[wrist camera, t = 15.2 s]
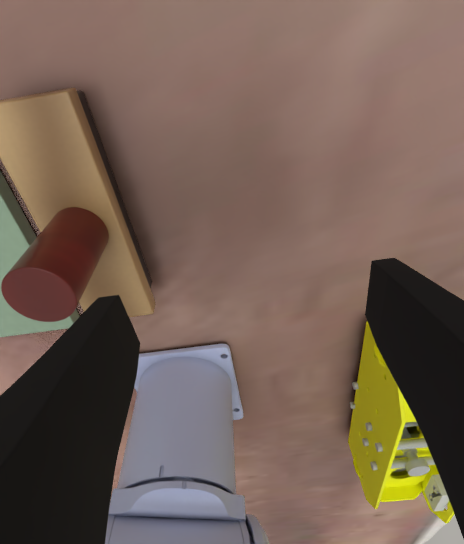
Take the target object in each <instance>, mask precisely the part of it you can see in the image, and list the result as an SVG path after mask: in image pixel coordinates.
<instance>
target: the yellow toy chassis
mask: <svg viewBox="0 0 464 544" xmlns="http://www.w3.org/2000/svg"><path fill="white" fill-rule="evenodd" d="M352 385H353V389H354V390H355V389H356V393H355V400H354V402H350V408H351V409H353V413H352V419H351V426H350V432H349V439H348V443H349V446H350V450H351V453H352V456H353V459H354V461H353V464H354V467H355V470H356V473H357V474H358V476H359V478H360V481H361V485H362V488H363V491H364V494H365V497H366V500H367V501H368V502H369V503H370V504H371V505H372V506H373V507H374V508H375V509H378V506H379V503H380V501H381V502H390V501H401V500H412V499H415V498H416V497H417V496H418V495H419V494H420V493H421V492H422V493H423V495H424V497H425V500H426V502H427V504H428V507H429V509H430V510H431V511H432V512H433V513H434V514H435V515H437V516H438V517H439V518H440V519H441V520H442V521H444V522H445V523H449V521H450V520H451V518H452V517H453V515H454V511H453V508H452V506H451V503H450V501H449V498H448V496H447V493H446V490H445V488H444V485H443V483H442V480H441V478H440V475H439V472H438V470H437V468H436V465H435V463H434V460H433V458H432V456H431V453H430V451H429V448H428V446H427V443H426V441H425V439H424V436H423V434H422V432H421V430H420V428H419V426H418V424H417V421H416V419H415V417H414V415H413V414H412V412H411V410H410V408H409V406H408V404H407V402H406V400H405V399H404V397H403V395H402V393H401V391H400V389H399V387H398V385H397V384H396V382H395V380H394V378H393V376H392V374H391V372H390V370H389V369H388V367H387V365H386V363H385V361H384V359H383V357H382V355H381V353H380V351H379V349H378V347H377V345H376V343H375V340H374V337H373V335H372V332H371V329H370V327H369V324H368V321H367V322H366V328H365V335H364V341H363V348H362V354H361V361H360V367H359V374H358V380H357V382H352ZM446 505H448V509H447V510H446V509H445V507H446Z"/></svg>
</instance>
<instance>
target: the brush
mask: <svg viewBox="0 0 464 544" xmlns="http://www.w3.org/2000/svg"><path fill="white" fill-rule="evenodd" d="M0 159H1V161H2V162H3V164H4V166H5V168H6V170H7V172H8V173H9V175H10V177H11V179H12V181H13V183H14V184H15V186H16V188H17V190H18V192H19V194H20V195H21V197H22V199H23V201H24V203H25V204H26V206H27V208H28V210H29V212H30V214H31V215H32V217H33V219H34V221H35V223H36V225H37V226H38V228H39V230H40V232H41V233H40V234H39V235H38V237H37V238H36V239H35V240H34V241H33V243H32V244H31V245H30V246H29V248H28V249H27V250H26V251H25V252H24V254H23V255H22V256H21V257H20V258H19V260H18V261H17V262H16V263H15V264H14V266H13V267H12V268H11V269H10V271H9V272H8V273H7V274H6V275H5V277H4V278H3V280H2V284H1V291H2V295H3V297H4V299H5V300H6V302H7V303H8V304H9V305H10V306H11V307H12V308H13V309H14V310H15V311H17V312H18V313H20V314H21V315H23V316H25V317H27V318H30V319H33V320H37V321H42V322H56V321H61V320H64V319H66V318H67V317H69V316H70V315H72V314H73V312H74V311H75V309H76V307H77V305H78V303H80V305H81V307H82V309H83V311H84V312H85V311H86V309H87V308H88V307H89V306H90V305H91V304H92V303H93V302H94V301H95V300H96V299H98V298H99V297H106V296H113V295H119V296H120V298H121V300H122V303H123V305H124V307H125V310H126V312H127V314H128V316H129V317H135V316H142V315H150V314H153V313H154V308H155V300H154V297H153V295H152V292H151V289H150V288H151V284H152V280H151V277H150V274H149V272H148V269H147V266H146V263H145V261H144V258H143V255H142V252H141V250H140V247H139V244H138V241H137V239H136V236H135V233H134V230H133V228H132V225H131V222H130V219H129V217H128V214H127V211H126V208H125V206H124V203H123V200H122V197H121V195H120V192H119V189H118V186H117V184H116V181H115V178H114V175H113V173H112V170H111V167H110V164H109V162H108V159H107V156H106V153H105V151H104V148H103V145H102V142H101V139H100V137H99V134H98V131H97V128H96V126H95V123H94V120H93V117H92V115H91V112H90V109H89V106H88V104H87V101H86V98H85V95H84V93H83V91H81V90H79V91H76V89H75V88H67V89H61V90H56V91H50V92H45V93H39V94H33V95H28V96H22V97H17V98H11V99H5V100H0Z"/></svg>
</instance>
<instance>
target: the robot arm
mask: <svg viewBox="0 0 464 544" xmlns="http://www.w3.org/2000/svg"><path fill="white" fill-rule="evenodd" d="M365 315H366V318H367V321H368V324H369V327H370V329H371V332H372V335H373V337H374V340H375V343H376V345H377V347H378V349H379V351H380V353H381V355H382V357H383V359H384V361H385V363H386V365H387V367H388V369H389V370H390V372H391V374H392V376H393V378H394V380H395V382H396V384H397V385H398V387H399V389H400V391H401V393H402V395H403V397H404V399H405V400H406V402H407V404H408V406H409V408H410V410H411V412H412V414H413V415H414V417H415V419H416V421H417V424H418V426H419V428H420V430H421V432H422V434H423V436H424V439H425V441H426V443H427V446H428V448H429V451H430V453H431V456H432V458H433V460H434V463H435V465H436V468H437V470H438V472H439V475H440V478H441V480H442V483H443V485H444V488H445V490H446V493H447V496H448V498H449V501H450V503H451V506H452V508H453V511H454V514H455V516H456V519H457V522H458V524H459V527H460V530H461V533H462V536H463V538H464V300H462V299H460V298H459V297H457V296H455V295H454V294H452V293H450V292H449V291H447V290H445V289H444V288H442V287H441V286H439V285H437V284H436V283H434V282H433V281H431V280H429V279H428V278H426V277H425V276H423V275H422V274H420V273H418V272H417V271H415V270H414V269H412V268H410V267H409V266H407V265H406V264H404V263H402V262H401V261H399V260H397V259H395V258H389V259H382V260H374V261H372V264H371V272H370V280H369V288H368V296H367V304H366V313H365ZM139 349H140V342H139V340H138V337H137V335H136V333H135V330H134V328H133V326H132V323H131V321H130V319H129V316H128V314H127V312H126V310H125V307H124V305H123V303H122V300H121V298H120V296H119V295H113V296H106V297H99V298H98V299H96V300H95V301H94V302H93V303H92V304H91V305H90V306H89V307H88V308H87V309H86V311H85V312H84V313H83V314H82V315H81V316H80V317H79V318H78V319H77V320H76V321H75V322H74V323H73V324H72V325H71V327H70V328H69V329H68V330H67V331H66V332H65V333H64V334H63V335H62V336H61V337H60V338H59V339H58V340H57V341H56V342H55V343H54V344H53V345H52V346H51V348H50V349H49V350H48V351H47V352H46V353H45V354H44V355H43V356H42V357H41V358H40V359H39V360H38V361H37V362H35V363H34V364H33V365H32V366H31V367H30V368H29V369H28V370H27V371H26V372H25V373H24V374H23V375H22V376H21V377H20V378H19V379H18V380H17V381H16V382H15V383H14V384H13V385H12V386H11V387H10V388H8V389H7V390H6V391H5V392H4V393H3V394H2V395H1V396H0V544H269V540H268V537H267V535H266V533H265V531H264V529H263V528H262V527H261V525H260V523H259V521H258V520H257V518H256V517H255V516H254V515H252V514H245V497H244V496H243V495H236V480H235V457H234V434H233V420H238V419H241V418H243V416H244V415H243V408H242V404H241V399H240V394H239V389H238V385H237V380H236V375H235V371H234V366H233V361H232V356H231V352H230V347H229V346H228V345H227V344H214V345H206V346H198V347H190V348H182V349H174V350H166V351H158V352H150V353H142V354H139ZM223 354H225V355H223ZM134 388H135V390H136V392H137V396H136V401H135V406H134V411H133V415H132V420H131V425H130V429H129V434H128V439H127V444H126V448H125V453H124V458H123V463H122V467H121V472H120V477H119V482H118V486H117V488H115V489H113V492H112V485H113V478H114V471H115V465H116V460H117V455H118V450H119V446H120V442H121V438H122V434H123V430H124V426H125V422H126V418H127V414H128V410H129V406H130V402H131V397H132V393H133V389H134ZM111 492H112V497H111ZM110 499H111V501H110Z"/></svg>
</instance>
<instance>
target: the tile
mask: <svg viewBox="0 0 464 544" xmlns="http://www.w3.org/2000/svg"><path fill="white" fill-rule="evenodd" d="M36 238H37V236H36V235H35V233H34V231H33V229H32V227H31V226H30V224H29V222H28V220H27V218H26V216H25V215H24V213H23V211H22V209H21V207H20V205H19V204H18V202H17V200H16V198H15V196H14V194H13V193H12V191H11V189H10V187H9V185H8V184H7V182H6V180H5V178H4V176H3V174H2V173H1V171H0V337H7V336H14V335H22V334H30V333H37V332H45V331H53V330H60V329H68V328H70V327H71V325H72V324H73V323H74V322H75V321H76V320H77V319H78V318H79V317H80V315H79V313H78V311H77V310H76V309H75V311H74V312H73V314H72V315H70V316H69V317H67V318H66V319H64V320H61V321H56V322H42V321H37V320H33V319H30V318H27V317H25V316H23V315H21V314H20V313H18V312H17V311H15V310H14V309H13V308H12V307H11V306H10V305H9V304H8V303H7V302H6V300H5V299H4V297H3V295H2V291H1V284H2V280H3V278H4V277H5V275H6V274H7V273H8V272H9V271H10V269H11V268H12V267H13V266H14V264H15V263H16V262H17V261H18V260H19V258H20V257H21V256H22V255H23V254H24V252H25V251H26V250H27V249H28V248H29V246H30V245H31V244H32V243H33V241H34V240H35V239H36Z"/></svg>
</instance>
